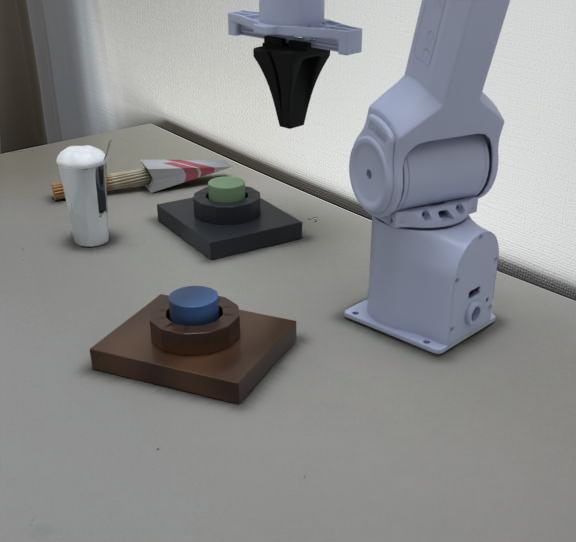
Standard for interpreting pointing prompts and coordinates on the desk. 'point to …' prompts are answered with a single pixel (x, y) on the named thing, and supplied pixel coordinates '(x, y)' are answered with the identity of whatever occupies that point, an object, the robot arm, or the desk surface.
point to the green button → (226, 189)
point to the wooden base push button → (196, 350)
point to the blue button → (194, 306)
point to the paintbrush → (157, 174)
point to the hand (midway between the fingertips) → (291, 125)
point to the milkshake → (85, 192)
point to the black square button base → (228, 223)
